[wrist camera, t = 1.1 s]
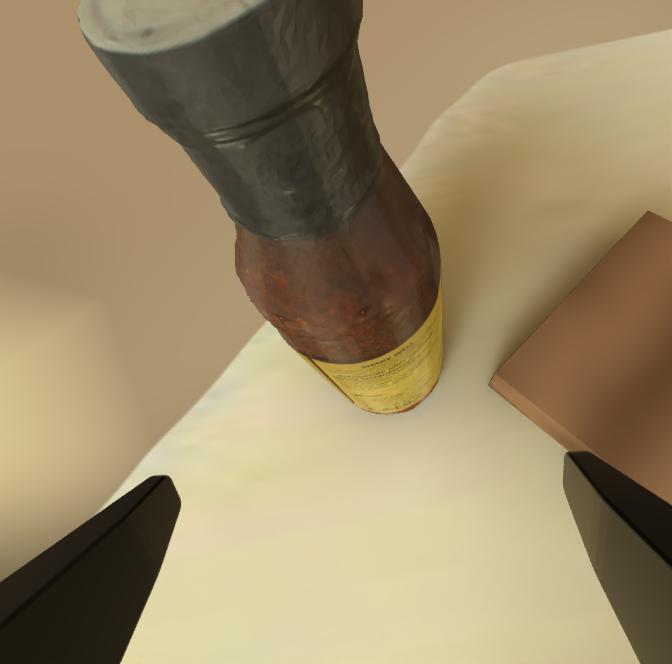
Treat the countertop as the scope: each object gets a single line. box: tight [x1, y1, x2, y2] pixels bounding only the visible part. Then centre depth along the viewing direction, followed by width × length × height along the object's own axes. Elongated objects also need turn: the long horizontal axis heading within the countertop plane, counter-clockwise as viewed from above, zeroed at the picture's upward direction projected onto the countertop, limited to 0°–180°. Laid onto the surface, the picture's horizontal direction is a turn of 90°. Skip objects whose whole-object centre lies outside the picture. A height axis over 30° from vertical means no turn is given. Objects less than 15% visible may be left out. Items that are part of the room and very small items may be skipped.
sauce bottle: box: [77, 0, 443, 415], centre depth 14 cm, size 6×6×20 cm
